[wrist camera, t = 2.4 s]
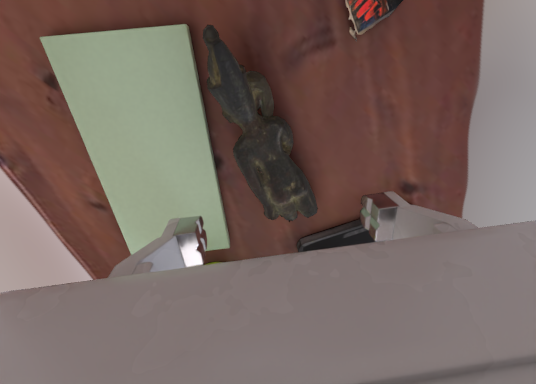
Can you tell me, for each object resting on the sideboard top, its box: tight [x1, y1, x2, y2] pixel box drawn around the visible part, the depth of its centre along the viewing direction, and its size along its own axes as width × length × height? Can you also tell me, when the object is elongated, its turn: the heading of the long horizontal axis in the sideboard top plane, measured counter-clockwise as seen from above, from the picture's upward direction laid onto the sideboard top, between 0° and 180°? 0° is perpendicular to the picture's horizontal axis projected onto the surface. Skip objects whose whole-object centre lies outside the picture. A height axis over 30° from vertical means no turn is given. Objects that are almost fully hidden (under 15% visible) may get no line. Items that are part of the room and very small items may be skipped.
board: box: [40, 24, 230, 255], centre depth 25 cm, size 22×11×1 cm, turn 5°
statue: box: [203, 25, 318, 222], centre depth 23 cm, size 6×6×20 cm
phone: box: [297, 219, 387, 252], centre depth 32 cm, size 8×1×15 cm
